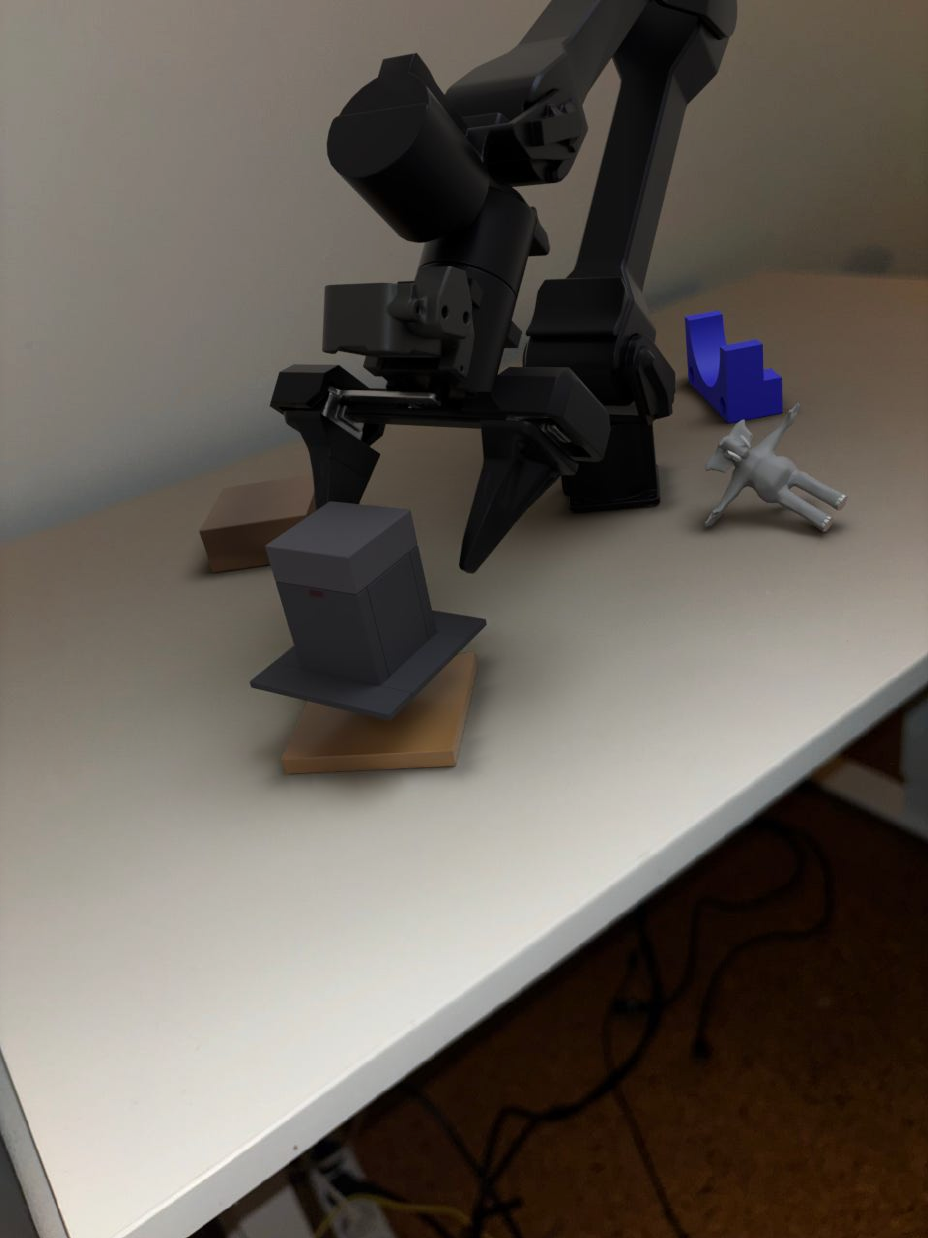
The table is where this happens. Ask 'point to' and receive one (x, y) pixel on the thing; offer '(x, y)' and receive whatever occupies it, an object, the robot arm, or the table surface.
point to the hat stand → (388, 729)
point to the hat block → (254, 520)
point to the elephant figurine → (769, 474)
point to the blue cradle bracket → (730, 371)
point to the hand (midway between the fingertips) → (392, 561)
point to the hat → (358, 612)
